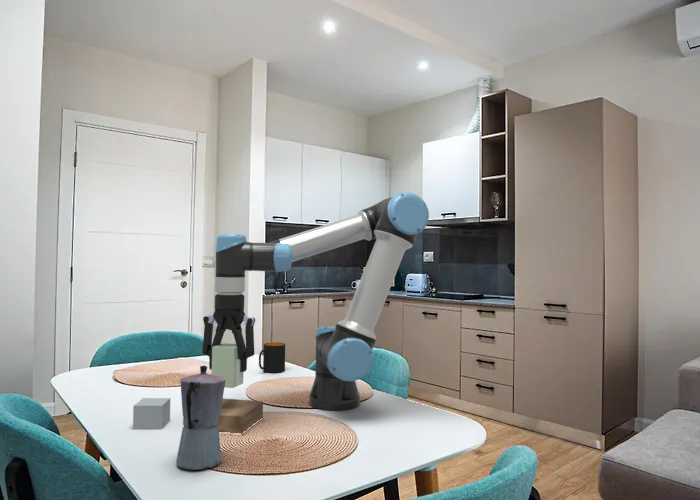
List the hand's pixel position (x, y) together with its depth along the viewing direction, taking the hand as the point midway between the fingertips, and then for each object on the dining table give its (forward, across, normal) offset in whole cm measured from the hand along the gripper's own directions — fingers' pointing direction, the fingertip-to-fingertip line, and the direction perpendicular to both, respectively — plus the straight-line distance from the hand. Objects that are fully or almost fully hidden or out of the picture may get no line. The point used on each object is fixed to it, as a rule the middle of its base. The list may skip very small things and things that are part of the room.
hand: (227, 383), depth 132 cm
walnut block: (+11, 0, 0) cm, 11 cm away
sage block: (0, 0, 0) cm, 0 cm away
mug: (+11, +12, -62) cm, 64 cm away
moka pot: (+11, -6, +25) cm, 28 cm away
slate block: (+11, +18, +5) cm, 22 cm away
